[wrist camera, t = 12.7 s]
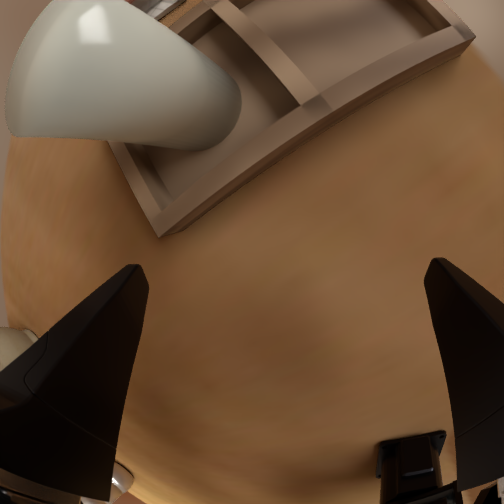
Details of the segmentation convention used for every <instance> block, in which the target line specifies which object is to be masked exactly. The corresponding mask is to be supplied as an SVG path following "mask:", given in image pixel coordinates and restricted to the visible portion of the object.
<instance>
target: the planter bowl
mask: <svg viewBox="0 0 504 504" xmlns="http://www.w3.org/2000/svg"><path fill="white" fill-rule="evenodd" d="M37 340H38V338H37V337H36V336H35V335H34V334H33V333H32V332H31V331H30V330H23V331H20V330H17V329H14V328H8V327H0V371H1V370H3V369H4V368H5V367H6V366H7V365H9V364H10V363H11V362H12V361H13V360H15V359H16V358H17V357H18V356H19V355H21V354H22V353H23V352H24V351H25V350H27V349H28V348H29V347H30V346H31V345H32V344H34V343H35V342H36V341H37Z"/></svg>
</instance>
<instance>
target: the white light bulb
mask: <svg viewBox="0 0 504 504" xmlns="http://www.w3.org/2000/svg"><path fill="white" fill-rule="evenodd" d="M241 107H242V97H241V92H240V89H239V86H238V84H237V83H236V81H235V80H234V79H233V78H232V77H231V76H230V75H229V74H228V73H227V72H226V71H224V70H223V69H222V68H221V67H220V66H218V65H217V64H216V63H215V62H213V61H212V60H211V59H210V58H208V57H207V56H206V55H204V54H203V53H202V52H200V51H199V50H198V49H197V48H195V47H194V46H193V45H191V44H190V43H188V42H187V41H186V40H184V39H183V38H182V37H180V36H179V35H177V34H176V33H174V32H173V31H172V30H170V29H169V28H167V27H166V26H164V25H163V24H161V23H160V22H158V21H157V20H155V19H154V18H152V17H151V16H149V15H147V14H146V13H144V12H143V11H141V10H139V9H138V8H136V7H134V6H133V5H131V4H129V3H128V2H126V1H124V0H53V1H52V2H51V3H49V5H48V6H47V7H46V8H45V9H44V10H43V11H42V13H41V14H40V15H39V16H38V18H37V19H36V20H35V22H34V23H33V25H32V26H31V28H30V29H29V31H28V33H27V34H26V36H25V38H24V40H23V42H22V44H21V46H20V48H19V50H18V52H17V55H16V57H15V60H14V63H13V66H12V69H11V72H10V76H9V79H8V84H7V89H6V97H5V117H6V122H7V126H8V129H9V130H10V132H11V133H12V134H13V135H14V136H16V137H50V138H75V139H91V140H104V141H116V142H126V143H135V144H143V145H152V146H159V147H166V148H173V149H180V150H187V151H202V150H206V149H209V148H212V147H214V146H215V145H217V144H219V143H220V142H222V141H223V140H224V139H225V138H226V137H227V136H228V135H229V134H230V133H231V131H232V130H233V128H234V127H235V125H236V123H237V121H238V119H239V116H240V113H241Z"/></svg>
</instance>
